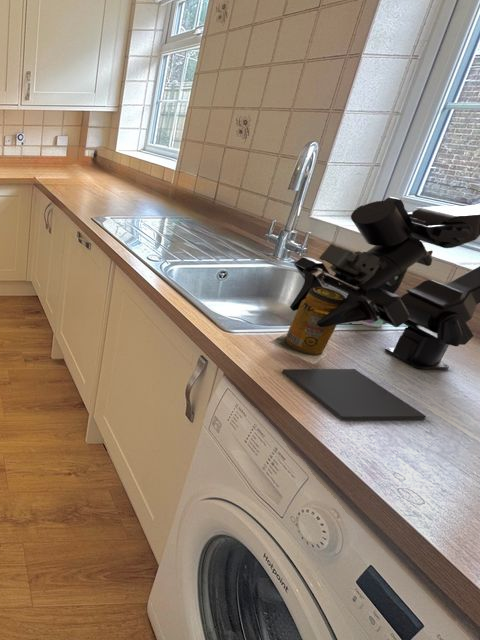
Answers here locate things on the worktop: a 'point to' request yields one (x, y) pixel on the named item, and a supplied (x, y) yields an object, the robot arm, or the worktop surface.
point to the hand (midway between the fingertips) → (304, 316)
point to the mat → (351, 395)
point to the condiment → (311, 325)
